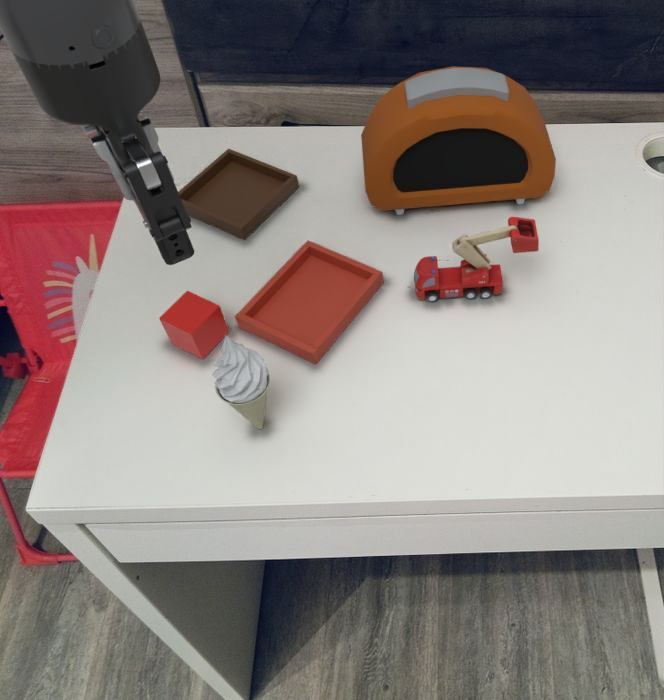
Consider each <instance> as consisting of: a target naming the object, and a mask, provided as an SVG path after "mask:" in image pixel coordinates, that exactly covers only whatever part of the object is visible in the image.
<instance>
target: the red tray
mask: <svg viewBox="0 0 664 700" xmlns="http://www.w3.org/2000/svg"><path fill="white" fill-rule="evenodd" d="M384 281H385V280H384V275H383V271H382V270H379V269H376V268H374V267H372V266H370V265H367V264H365V263H363V262H360V261H358V260H356V259H353V258H351V257H349V256H346V255H344V254H342V253H339V252H336V251H334V250H332V249H330V248H327V247H325V246H323V245H320V244H319V243H315V242H313V241H311V240H309V239H308V240H306V241H305V243H303V244H302V245H301V247H299V249H297V251H295V252H294V254H293V255H291V257H290V258H289V259H288V260H287V261H286V262H285V263H283V266H281V267H280V268H279V269H278V271H276V272H275V274H274V275H272V277H271V278H270V279H269V280H268V281H267V282H266V283H265V284H264V285H263V286H262V287H261V288H260V289H259V290H258V291H257V293H256V294H255V295H254V296H253V297H252V298H251V299H249V301H248V302H247V303H246V304H245V305H244V306H243V307H242V308H241V309H240V310H239V311H238V313H236V315H235V316H234V319H235V322H236V324H237V327H238V328H239V329H242V330H243V331H246V332H248V333H250V334H252V335H254V336H256V337H258V338H260V339H262V340H264V341H267V342H269V343H271V344H273V345H274V346H277V347H279V348H281V349H283V350H285V351H287V352H289V353H292V354H294V355H296V356H298V357H300V358H302V359H304V360H306V361H308V362H310V363H312V364H314V365H317V364H318V362H320V360H321V359H322V357H323V356H324V355H325V354H326V353H327V352H328V351H329V350H330V348H331V347H332V345H334V343H335V342H336V341H337V340H338V338H340V336H341V335H342V333H343V332H344V331H345V330H346V329H347V327H348V326H349V325H350V324H351V323H352V321H353V320H354V319H355V318H356V317H357V316H358V314H359V313H360V312H361V311H362V310H363V308H364V307H365V306H366V305H367V304H368V302H369V301H370V300H371V299H372V298H373V296H374V295H375V294H376V293H377V291H378V290H379V289H380V288H381V287H382V286H383V284H384V283H385V282H384Z"/></svg>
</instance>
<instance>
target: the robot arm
mask: <svg viewBox="0 0 664 700" xmlns="http://www.w3.org/2000/svg"><path fill="white" fill-rule="evenodd" d="M0 32H1V34H2V36H3V37H4V39H5V41H6V43H7V45H8V48H9V49H10V51H11V53H12V55H13V57H14V59H15V61H16V63H17V64H18V67H19V69H20V71H21V73H22V74H23V77H24V78H25V80H26V82H27V84H28V86H29V88H30V90H31V92H32V94H33V96H34V98H35V100H36V101H37V104H38V105H39V107H40V108H41V110H42V111H43V112H44V113H45V114H47V115H48V116H49V117H51V118H52V119H54V120H56V121H58V122H62V123H65V124H67V125H68V124H69V125H73V126H74V125H75V126H80V127H81V128H82V130H83V132H84V134H85V136H86V137H87V139H89V141H90V142H91V145H92V146H93V148H94V150H95V152H96V155H97V156H98V158H99V159H100V161H101V162H103V163H105V164H106V165H107V167H108V169H109V172H110V173H111V175H112V177H113V178H114V181H115V183H116V186H117V187H118V189H119V191H120V192H121V195H122V197H123V198H124V199H125V200H127V201H131V202H134V204H135V206H136V208H137V209H138V211H139V213H140V215H141V217H142V219H143V221H142V223H143V226H144V227H145V229H148V232H149V234H150V236H151V238H153V240H154V242H155V244H156V247H157V249H158V251H159V254H160V256H161V258H162V259H163V261H164V263H165V264H166V265H167V266H173V265H174V266H175V265H176V264H179V263H180V262H183V261H186V260H187V259H191V258H192V257H193V256H194V255H195V249H194V245H193V244H192V241H191V239H190V237H189V234H188V231H187V230H189V229H191V228H193V227H192V224H191V223H192V219H191V216H189V215H187V213H186V211H185V208H184V206H183V203H182V201H181V198H180V196H179V193H178V192H179V190H178V189H177V185H176V183H175V177H174V175H173V173H172V171H171V169H170V167H169V161H168V159H167V157H166V156H165V155H164V154H163V152H162V150H161V148H160V146H159V141H160V140H159V139H160V137H159V135H158V133H157V131H156V128H155V126H154V125H153V123H152V120H151V118H150V117H149V116H146V117H144V113H143V109H144V108H145V107H146V106H147V105H148V104H149V103H150V102H151V101H152V100H153V99H154V98H155V96H156V95H157V93H158V91H159V88H160V85H161V74H160V70H159V67H158V64H157V62H156V61H157V60H156V58H155V56H154V52H153V50H152V48H151V45H150V42H149V39H148V36H147V33H146V29H145V27H144V25H143V22H142V19H141V16H140V14H139V11H138V7H137V5H136V2H135V0H0Z"/></svg>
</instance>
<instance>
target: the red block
mask: <svg viewBox="0 0 664 700" xmlns="http://www.w3.org/2000/svg"><path fill="white" fill-rule="evenodd" d="M158 319H159V321H160V323H161V325H162V328H163V329H164V331H165V333H166V336H167V337H168V340H169V341H170V343H171V345H173V346H175V347H177V348H179V349H181V350H183V351H185V352H188V353H189V354H191V355H193V356H195V357H197V358H198V359H200V360H204V359H205V358H206V357H207V356H208V355H209V354H210V353H211V351H213V349H215V348H216V346H218V345H219V344H220V342H221V341H223V340H224V339H225V335H226V336H227V335H229V334H230V329H229V327H228V324H227V321H226V318H225V316H224V314H223V311H222V307H221V306H220V305H219V304H217V303H215V302H213V301H211V300H209V299H207V298H204V297H203V296H200V295H198V294H196V293H194V292H191V291H189V290H186V291H185V292H184V293H183V294H181V296H180V297H179V298H178V299H177V300H176V301H175V302H174V303H173V304H171V306H170V307H169V308H167V310H166V311H164V313H163V314H161V316H159V318H158Z"/></svg>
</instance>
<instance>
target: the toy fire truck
mask: <svg viewBox="0 0 664 700" xmlns="http://www.w3.org/2000/svg"><path fill="white" fill-rule="evenodd" d="M507 225H508V226H505V227H502V228H496V229H493V230H488V231H485V232H479V233H476V234H471V235H469V236H468V235H467V234H462V235H460V236H459V237H458V238H456V239H454V240H453V241H452V251H453V253H454V254H456V255H458V256H459V257H461V258H462V259H461V260H460V266H450V267H449V266H448V267H439V263H438V256H436V255H432V256H430V255H429V256H424V257H422V258H420V259H419V261H418V262H417V264H416V266H415V269H414V272H413V281H414V282H413V283H414V288H415V289H414V290H415V294H416V297H417V298H418V300H425V299H426V300H427V302H429V303H434V302H437V301H438V300H439V298H440V299H451V298H462V297H465V298H466V299H467V300H474V299H475V298H477V296H478V294H479V297H480V298H481V299H485V300H486V299H490V298H491V297H492V295H494V296H499V295H502V294H503V286H504V280H503V275H502V267H501V264H499V263H498V264H490V263H491V262H492V261H491V259H490V258H489V256H487V254H486V253H484V252H483V250H482V249H481V248H480V247H479V246H480V245H482V244H486V243H491V242H496V241H499V240H503V239H507V238H510V245H511V247H512V248H511V249H512V253H513V254H521V253H535V252H539V244H540V243H539V242H540V241H539V235H538V229H537V223H536V219H533V218H526V217H519V216H509V217H508V219H507ZM478 245H479V246H478Z"/></svg>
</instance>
